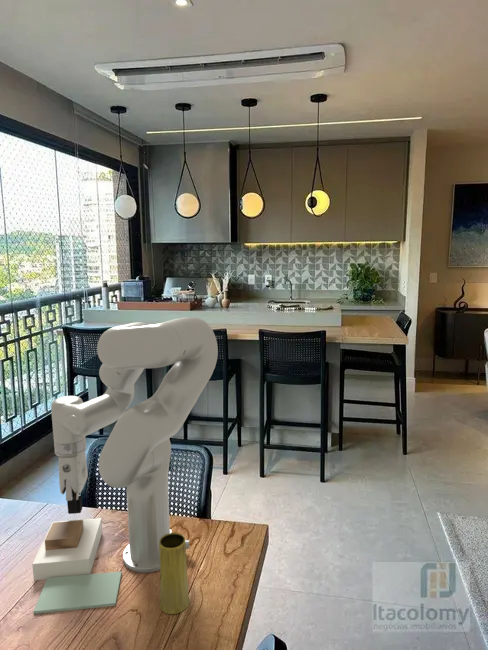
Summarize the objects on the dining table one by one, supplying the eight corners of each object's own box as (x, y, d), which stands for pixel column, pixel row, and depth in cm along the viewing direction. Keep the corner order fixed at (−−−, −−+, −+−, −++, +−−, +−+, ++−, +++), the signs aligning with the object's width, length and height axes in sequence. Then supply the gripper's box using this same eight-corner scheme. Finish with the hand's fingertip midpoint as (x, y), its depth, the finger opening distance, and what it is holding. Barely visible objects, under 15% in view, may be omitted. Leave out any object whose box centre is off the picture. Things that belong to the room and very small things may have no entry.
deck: (102, 532, 119) (101, 518, 118) (89, 575, 103) (88, 559, 103) (53, 536, 117) (52, 521, 117) (33, 580, 102) (32, 564, 101)
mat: (121, 573, 104) (121, 571, 104) (115, 605, 94) (115, 603, 94) (47, 580, 102) (47, 578, 102) (33, 614, 92) (33, 611, 92)
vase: (164, 591, 98) (162, 530, 96) (192, 593, 98) (190, 532, 95) (155, 613, 92) (152, 548, 90) (185, 616, 92) (183, 551, 89)
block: (83, 529, 113) (82, 520, 113) (77, 547, 107) (76, 537, 106) (53, 531, 113) (53, 522, 112) (45, 550, 106) (44, 540, 105)
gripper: (79, 457, 110) (84, 527, 113) (91, 432, 125) (95, 495, 128) (46, 459, 109) (52, 530, 112) (62, 434, 124) (67, 497, 127)
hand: (75, 511), depth 120 cm, fingers closed
